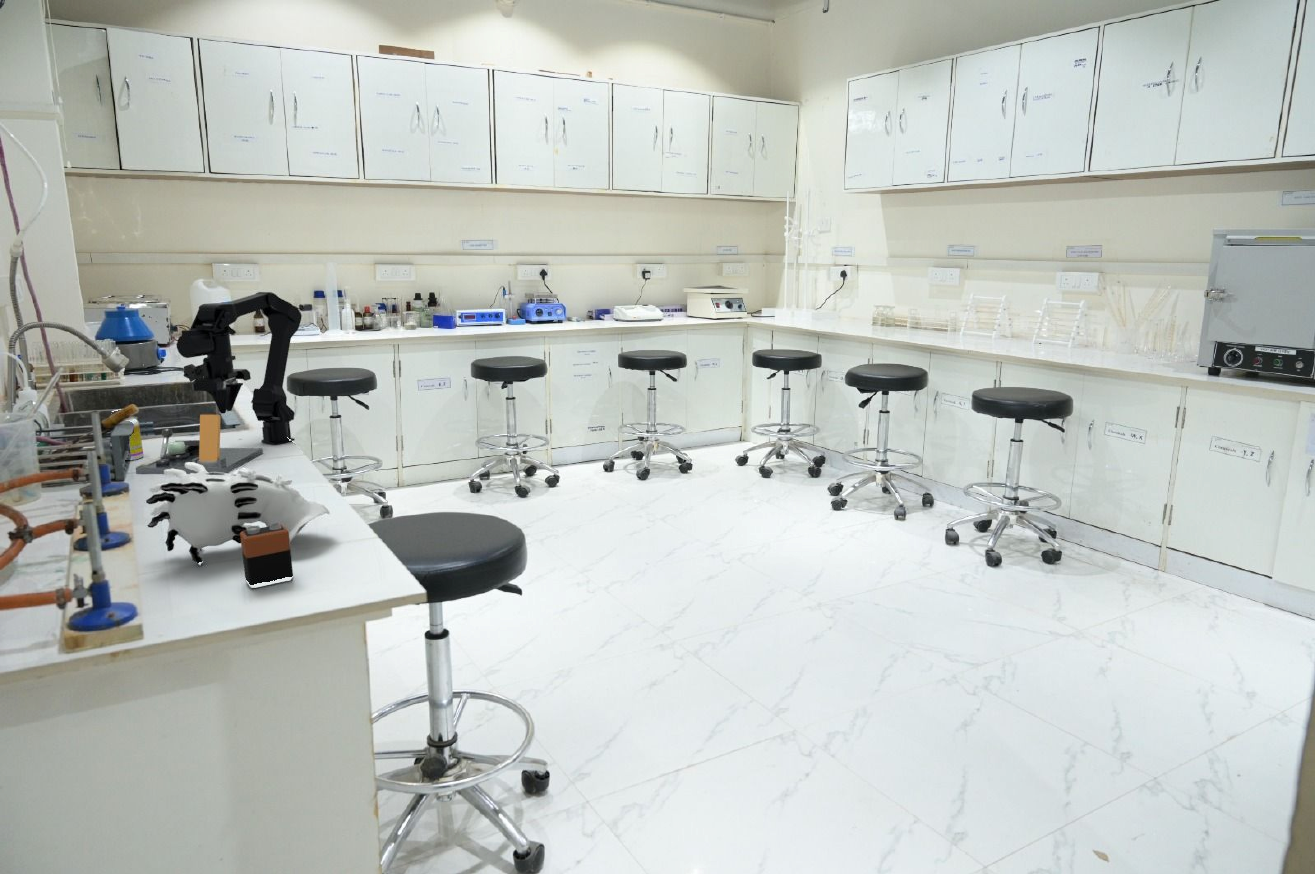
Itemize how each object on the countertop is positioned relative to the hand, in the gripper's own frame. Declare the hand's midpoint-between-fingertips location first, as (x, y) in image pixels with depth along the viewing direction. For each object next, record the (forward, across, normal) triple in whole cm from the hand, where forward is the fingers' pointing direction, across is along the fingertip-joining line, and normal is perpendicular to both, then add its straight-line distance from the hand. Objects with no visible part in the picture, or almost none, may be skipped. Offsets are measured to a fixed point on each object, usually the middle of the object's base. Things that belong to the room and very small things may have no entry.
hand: (226, 412), depth 219 cm
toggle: (+10, +14, -10) cm, 20 cm away
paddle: (+10, +16, +3) cm, 19 cm away
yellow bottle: (+12, +2, -26) cm, 29 cm away
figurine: (+12, +69, +37) cm, 79 cm away
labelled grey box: (+8, +1, -10) cm, 13 cm away
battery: (+12, +83, +48) cm, 97 cm away
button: (+9, +7, -10) cm, 15 cm away
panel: (+12, +7, -4) cm, 14 cm away
